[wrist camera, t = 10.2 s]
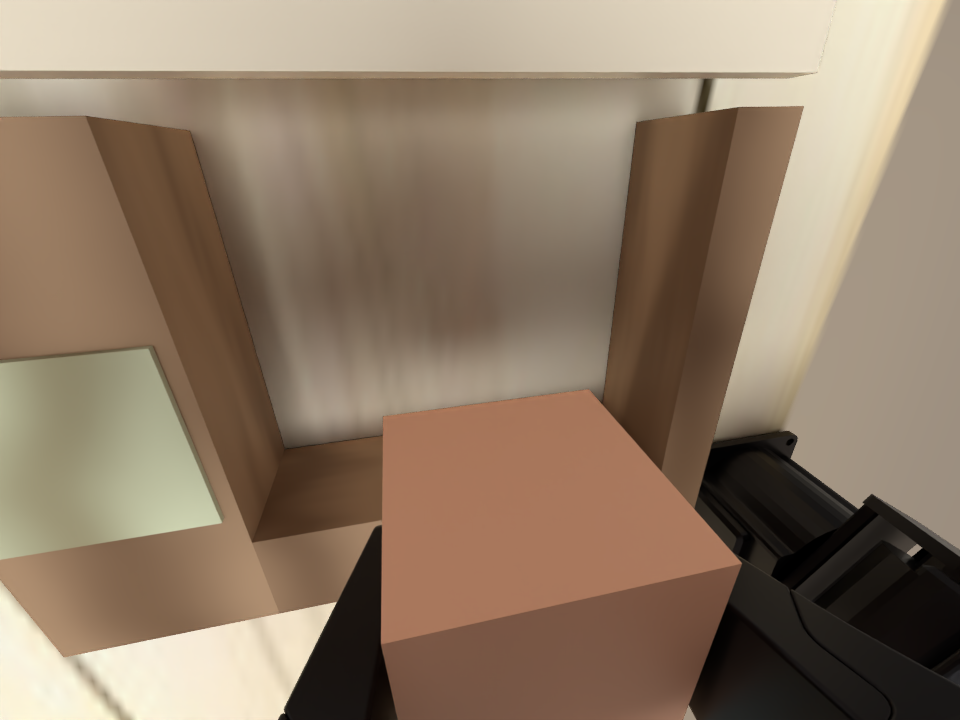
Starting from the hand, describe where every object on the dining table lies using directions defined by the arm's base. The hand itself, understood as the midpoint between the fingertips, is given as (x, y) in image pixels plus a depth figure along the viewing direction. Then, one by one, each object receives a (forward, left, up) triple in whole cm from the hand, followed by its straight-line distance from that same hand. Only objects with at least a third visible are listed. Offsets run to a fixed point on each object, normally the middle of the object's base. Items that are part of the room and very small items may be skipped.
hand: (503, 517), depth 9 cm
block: (0, 0, -1) cm, 1 cm away
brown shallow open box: (+2, 0, -10) cm, 10 cm away
